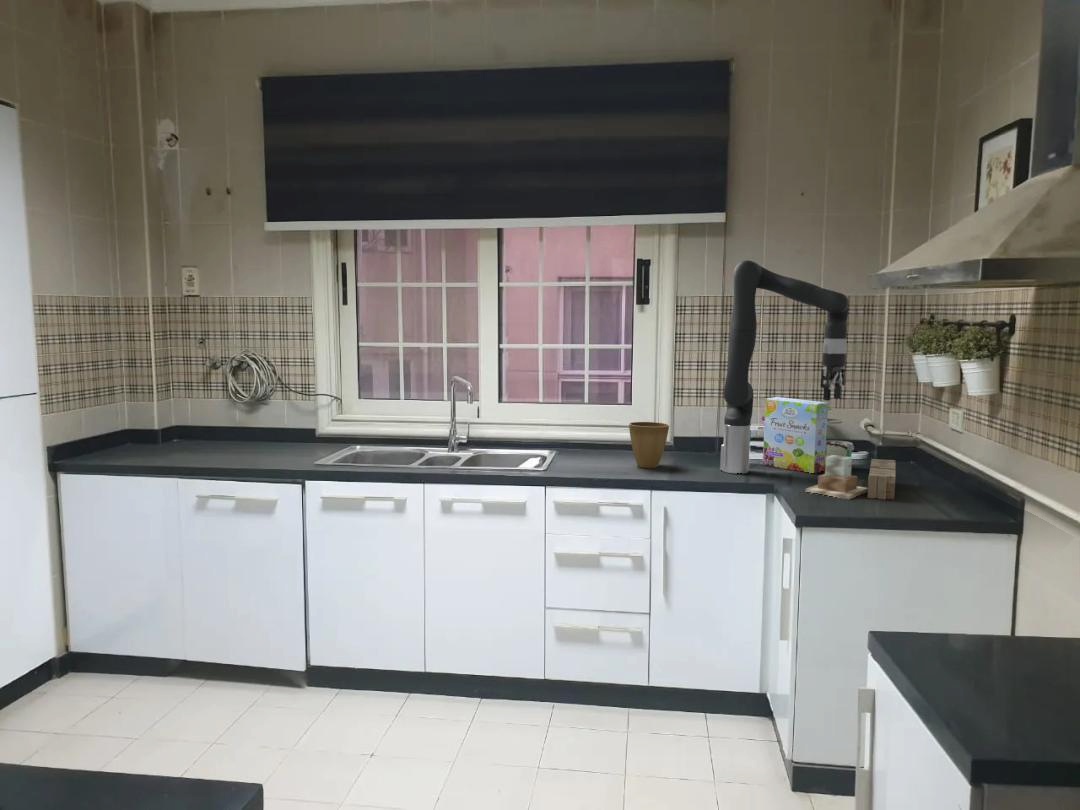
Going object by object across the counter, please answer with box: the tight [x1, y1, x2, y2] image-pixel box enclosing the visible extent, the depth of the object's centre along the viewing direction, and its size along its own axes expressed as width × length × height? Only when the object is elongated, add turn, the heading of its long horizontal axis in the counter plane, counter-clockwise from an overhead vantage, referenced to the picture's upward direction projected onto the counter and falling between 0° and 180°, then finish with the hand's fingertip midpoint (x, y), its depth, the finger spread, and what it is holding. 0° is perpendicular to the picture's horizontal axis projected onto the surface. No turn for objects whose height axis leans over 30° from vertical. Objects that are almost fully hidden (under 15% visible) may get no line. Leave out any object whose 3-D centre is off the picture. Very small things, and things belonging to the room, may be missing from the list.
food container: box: [825, 439, 855, 458], centre depth 292 cm, size 12×6×10 cm, turn 22°
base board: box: [804, 473, 868, 500], centre depth 253 cm, size 14×16×5 cm
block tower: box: [867, 458, 897, 500], centre depth 257 cm, size 8×8×29 cm
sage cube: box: [824, 455, 853, 478], centre depth 252 cm, size 6×6×6 cm
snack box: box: [762, 396, 829, 474], centre depth 290 cm, size 22×9×26 cm, turn 42°
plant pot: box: [628, 421, 670, 469], centre depth 292 cm, size 15×15×16 cm
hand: (832, 399), depth 268 cm, fingers open, 8 cm apart
